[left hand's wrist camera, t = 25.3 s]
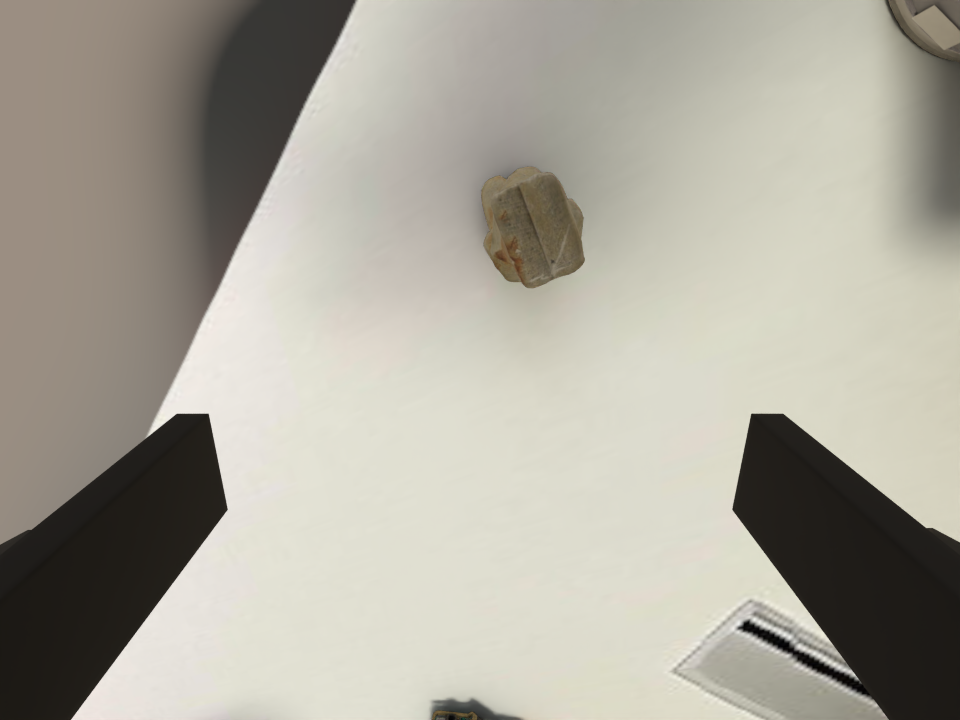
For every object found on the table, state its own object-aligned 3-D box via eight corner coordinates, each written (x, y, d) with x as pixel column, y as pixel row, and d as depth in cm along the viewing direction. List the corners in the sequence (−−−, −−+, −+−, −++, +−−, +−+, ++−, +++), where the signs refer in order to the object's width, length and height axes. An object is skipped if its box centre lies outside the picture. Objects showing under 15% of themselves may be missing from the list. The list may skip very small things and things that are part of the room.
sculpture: (547, 158, 37) (589, 149, 23) (572, 256, 39) (624, 303, 25) (469, 184, 37) (462, 191, 23) (498, 279, 40) (507, 338, 26)
